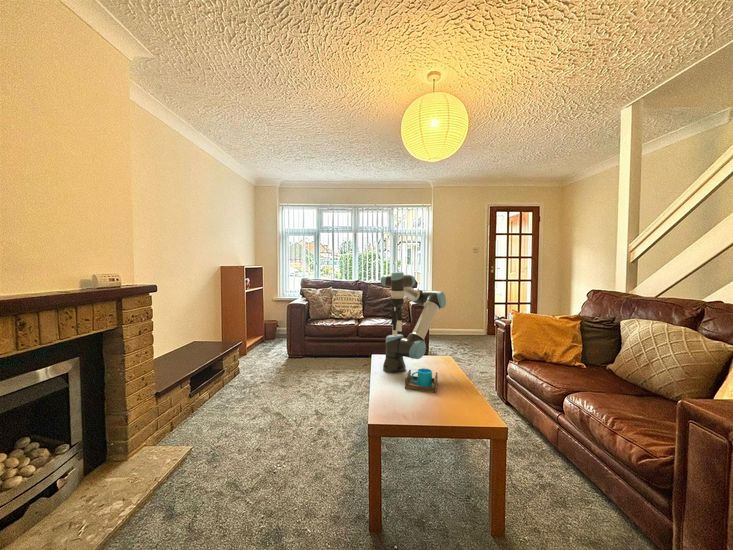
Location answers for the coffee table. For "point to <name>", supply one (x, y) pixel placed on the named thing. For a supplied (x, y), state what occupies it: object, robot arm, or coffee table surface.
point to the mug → (423, 377)
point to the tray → (413, 386)
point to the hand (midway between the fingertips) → (397, 333)
